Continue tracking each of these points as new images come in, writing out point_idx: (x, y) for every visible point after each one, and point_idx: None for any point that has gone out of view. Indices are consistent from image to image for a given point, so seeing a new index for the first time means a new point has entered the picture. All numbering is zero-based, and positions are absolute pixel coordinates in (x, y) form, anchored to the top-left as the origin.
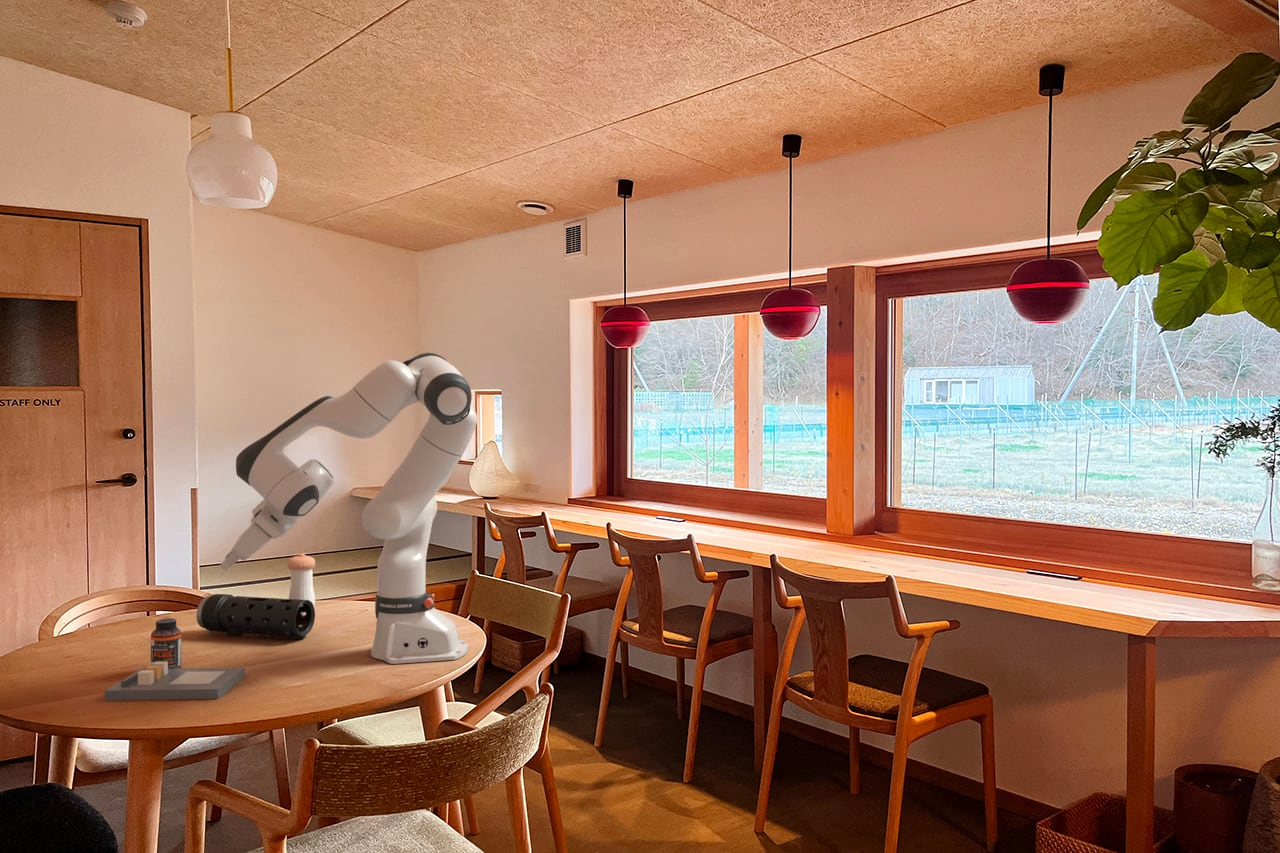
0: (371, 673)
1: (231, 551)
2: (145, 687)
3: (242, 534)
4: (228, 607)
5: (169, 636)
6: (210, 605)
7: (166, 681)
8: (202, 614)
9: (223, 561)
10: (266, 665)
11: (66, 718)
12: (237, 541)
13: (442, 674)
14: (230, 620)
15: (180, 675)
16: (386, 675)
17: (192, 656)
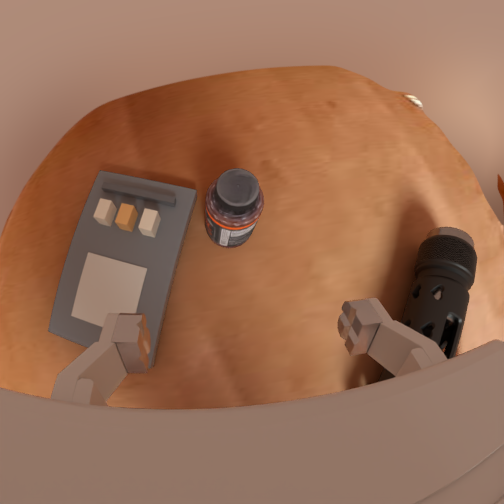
0: None
1: (383, 327)
2: (89, 220)
3: (465, 390)
4: (434, 283)
5: (208, 210)
6: (442, 248)
7: (108, 245)
8: (429, 239)
9: (119, 329)
10: (218, 394)
11: (59, 158)
12: (164, 444)
13: None
14: (416, 291)
15: (133, 261)
16: None
17: (309, 253)
